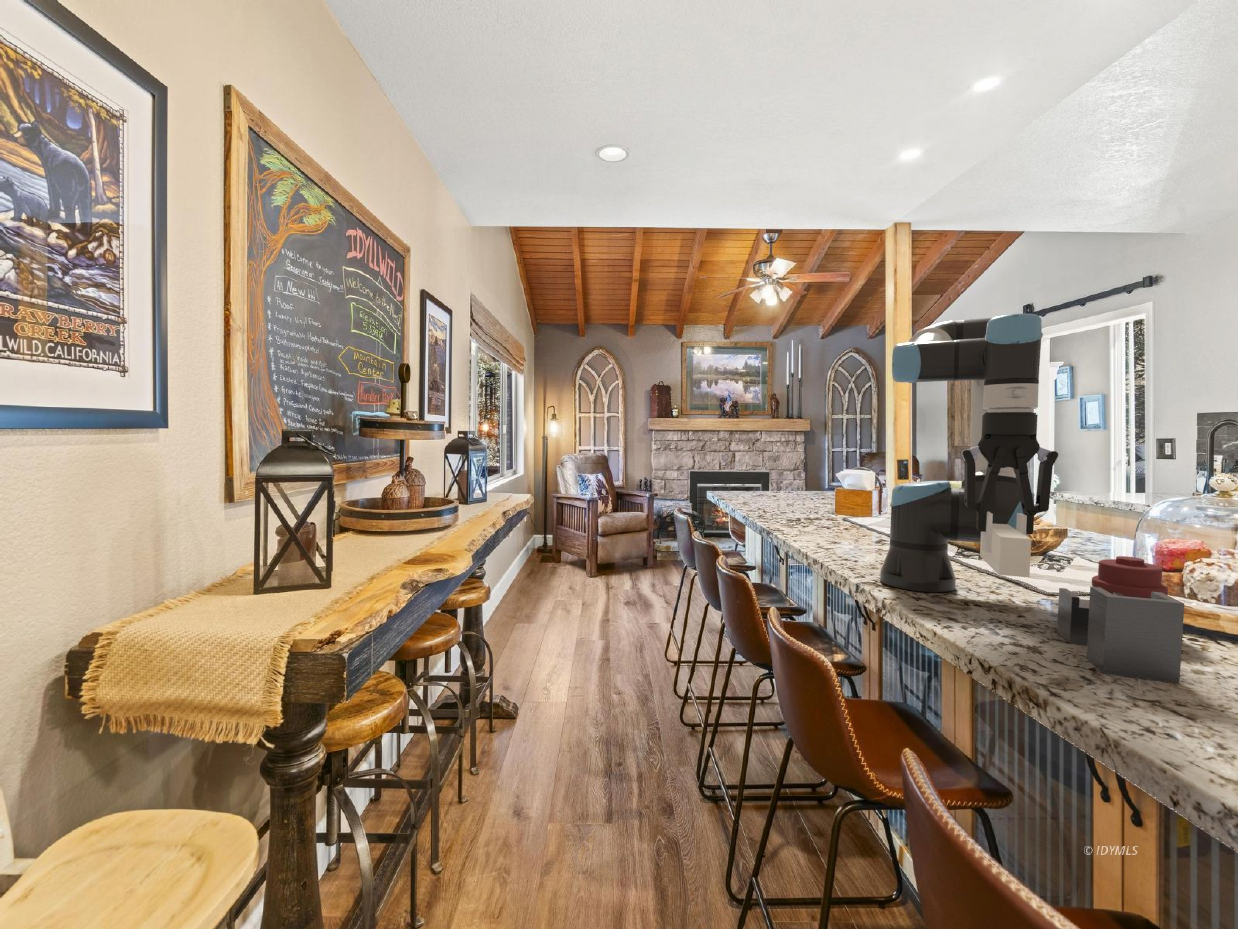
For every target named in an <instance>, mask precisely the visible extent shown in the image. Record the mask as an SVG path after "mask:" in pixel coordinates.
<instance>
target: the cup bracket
mask: <svg viewBox="0 0 1238 929" xmlns="http://www.w3.org/2000/svg"><path fill="white" fill-rule="evenodd" d="M1089 600H1090V601H1089V620H1088V639H1087V645H1086V660H1087V661H1088V662H1090V664H1091V665H1093V666H1094V668H1096V669H1097V670H1098V671H1099V672H1101V673H1102V674H1104V675H1111V676H1119V677H1125V678H1134V679H1142V680H1151V681H1157V682H1165V683H1171V684H1180V683H1181V682H1180V680H1181V667H1182V647H1183V634H1184V633H1183V632H1184V631H1183V630H1184V616H1185V615H1184V614H1185V602H1181V601H1180V600H1178V599H1176V598H1173V597H1172V596H1170V595H1166V594H1164V593H1161V592H1151V599H1149V598H1137V597H1126V596H1115V595H1113V594H1111V593H1109V592H1107V591H1106V590H1104V589H1102V588H1101V587H1093V586H1092V585H1091V586H1089Z"/></svg>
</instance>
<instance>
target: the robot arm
mask: <svg viewBox="0 0 1238 929" xmlns="http://www.w3.org/2000/svg"><path fill="white" fill-rule="evenodd" d="M1042 326H1043V325H1042V318H1041V317H1040V315H1038V314H1034V313H1012V314H1005V315H1004V314H1003V315H999V316H995V317H987V318H986V317H984V318H983V317H982V318H973V319H971V318H970V319H959V320H956V319H955V320H948V321H947V320H946V321H941V322H938V323H936V324H932V325H929V326H926V327H925V328H921V329H919V330H918V331H917V332H916V333H914V334H913V335H912V336H911V338H910V339H909V341H908V342H903V343H897V344H896V345H894V346H893V348H892V354H891V355H892V358H891V359H892V360H891V374H892V379H893V381H894V382H896V383H908V384H909V383H910V384H915V383H929V382H931V383H932V382H934V383H935V382H961V381H962V382H963V381H966V382H968V381H971V394H970V396H971V398H970V399H971V402H970V406H971V408H970V447H969V448H968V449H964V448H963V449H961V451H960V456H961V459H962V460H963V464H964V467H963V468H964V469H963V470H964V474H963V475H964V478H963V479H962V480H961V487H952V484H951V482H950V480H925V481H916V482H915V481H914V482H906V483H900V484H898V485H895V486H894V487H893V489H892V492H891V502H890V504H889V507H890V508H891V510H890V527H889V528H890V532H889V548H888V551H887V553H886V556H885V558H884V561H883V563H882V566H881V568H880V575H879V580H880V582H881V583H883V584H885V585H888V586H889V587H890V586H891V587H893V588H898V589H902V590H906V591H914V592H921V593H922V592H923V593H924V592H925V593H946V592H952V591H954V590H956V586H957V585H956V582H957V579H956V575H955V572H954V570H953V569H954V568H953V566H952V563H951V562H952V561H951V558H950V557H949V553H948V550H949V548H948V547H949V541H950V542H951V541H952V542H953V541H954V542H965V543H975V544H980V542H981V532H983V543H982V550H983V551H985V552H986V553H991V541H992V524H1008V525H1010V526H1011V527H1013V528H1014V529H1016V530H1018V531H1019V532H1021V533H1023V534H1024V535H1026V536H1027V537H1028V535H1033V533H1034V529H1035V528H1034V527H1035V526H1034V525H1035V524H1034V523H1035V516H1036V515H1037V514H1040V513H1045V512H1046V513H1047V512H1048V511H1049V509H1050V501H1051V500H1050V498H1051V491H1052V490H1051V487H1052V479H1053V477H1052V476H1053V467H1054V464H1055V463H1056V461H1057V459H1058V457H1059V452H1058V451H1055V450H1049V449H1046V448H1044V447H1041V446H1040V443H1039V441H1038V439H1037V435H1038V434H1037V432H1038V414H1037V412H1034V410H1037V408H1038V407H1039V386H1040V380H1039V379H1040V363H1041V362H1040V361H1041V349H1042V347H1041V346H1042V338H1043V335H1044V334H1043V332H1042V331H1043V330H1042V329H1043V328H1042ZM1036 454H1037V460H1038V461H1039V464H1038V472H1037V473H1038V474H1037V483H1036V484H1037V485H1036V495H1035V492H1034V491H1032V488H1031V483H1030V477H1029V468H1028V463H1029V462H1030V461H1031V460H1032V459H1033V458H1034V456H1036ZM1035 496H1036V497H1035Z"/></svg>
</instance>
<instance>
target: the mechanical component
mask: <svg viewBox="0 0 1238 929" xmlns="http://www.w3.org/2000/svg"><path fill="white" fill-rule="evenodd" d="M1097 571H1098V572H1097V575H1094V576H1093V577H1091V587H1101V588H1102V589H1104V590H1106V591H1107V592H1109V593H1111V594H1113V593H1121V594H1123V595H1124V596H1126V597H1137V598H1149V599H1151V592H1161V593H1164V594H1166V595H1168V594H1169V587H1168V586H1167V585H1165V584H1162V583H1163V582H1162V580H1163V579H1162V578H1163V577H1162V576H1163V568H1162V567H1161V566H1158V565H1156V564H1152V563H1148V562H1145V559H1144V558H1139V557H1136V556H1134V557H1133V556H1127V555H1125V556H1124V555H1122V556H1121V555H1119V556H1116V557H1115V559H1114V558H1112V559H1110V558H1109V559H1106V558H1105V559H1101V560H1098V570H1097ZM1168 596H1169V595H1168Z"/></svg>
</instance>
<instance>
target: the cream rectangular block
mask: <svg viewBox="0 0 1238 929" xmlns="http://www.w3.org/2000/svg"><path fill="white" fill-rule="evenodd" d="M982 543H983V532H981V542H980V543H979V544H980V550H979V557H980V558H981V559H982V560H983V561H984V562H985V563H986V564H987V565H988V566H989V567H990V568H992V570H993V571H994V572H996V574H997V575H999V576H1006V577H1007V576H1010V577H1019V578H1020V577H1021V578H1030V575H1031V574H1030V573H1031V572H1030V571H1031V556H1032V555H1031V553H1032V552H1031V550H1032V538H1031V537H1029V536H1028V535H1027V536H1026V535H1024V534H1023V533H1021V532H1019V531H1018V530H1016V529H1014V528H1013V527H1011V526H1010V525H1008V524H992V541H991V553H986V552H985V551H983V550H982Z"/></svg>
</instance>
